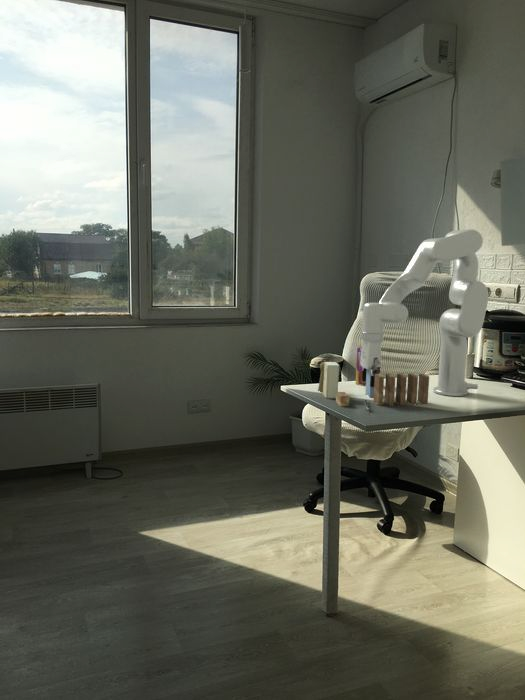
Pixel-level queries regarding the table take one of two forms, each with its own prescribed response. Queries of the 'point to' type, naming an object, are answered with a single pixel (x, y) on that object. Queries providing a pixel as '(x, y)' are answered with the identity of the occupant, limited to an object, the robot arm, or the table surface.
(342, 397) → the end block
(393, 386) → the domino
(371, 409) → the table surface
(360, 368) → the candy box
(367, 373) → the domino
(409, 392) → the domino
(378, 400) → the domino
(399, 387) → the domino
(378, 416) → the table surface
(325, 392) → the skincare box
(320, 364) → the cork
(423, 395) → the domino
